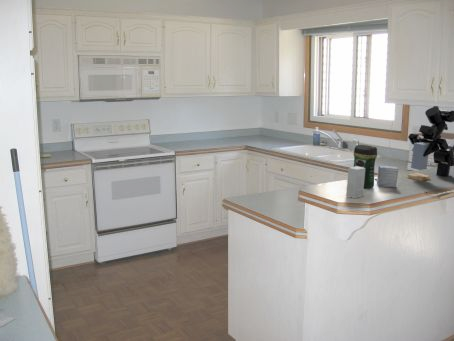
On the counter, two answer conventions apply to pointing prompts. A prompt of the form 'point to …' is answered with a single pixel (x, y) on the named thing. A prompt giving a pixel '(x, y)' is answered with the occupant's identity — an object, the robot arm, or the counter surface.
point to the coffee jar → (366, 162)
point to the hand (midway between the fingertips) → (418, 155)
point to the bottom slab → (419, 180)
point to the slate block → (419, 156)
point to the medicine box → (387, 176)
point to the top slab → (418, 176)
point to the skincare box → (355, 182)
